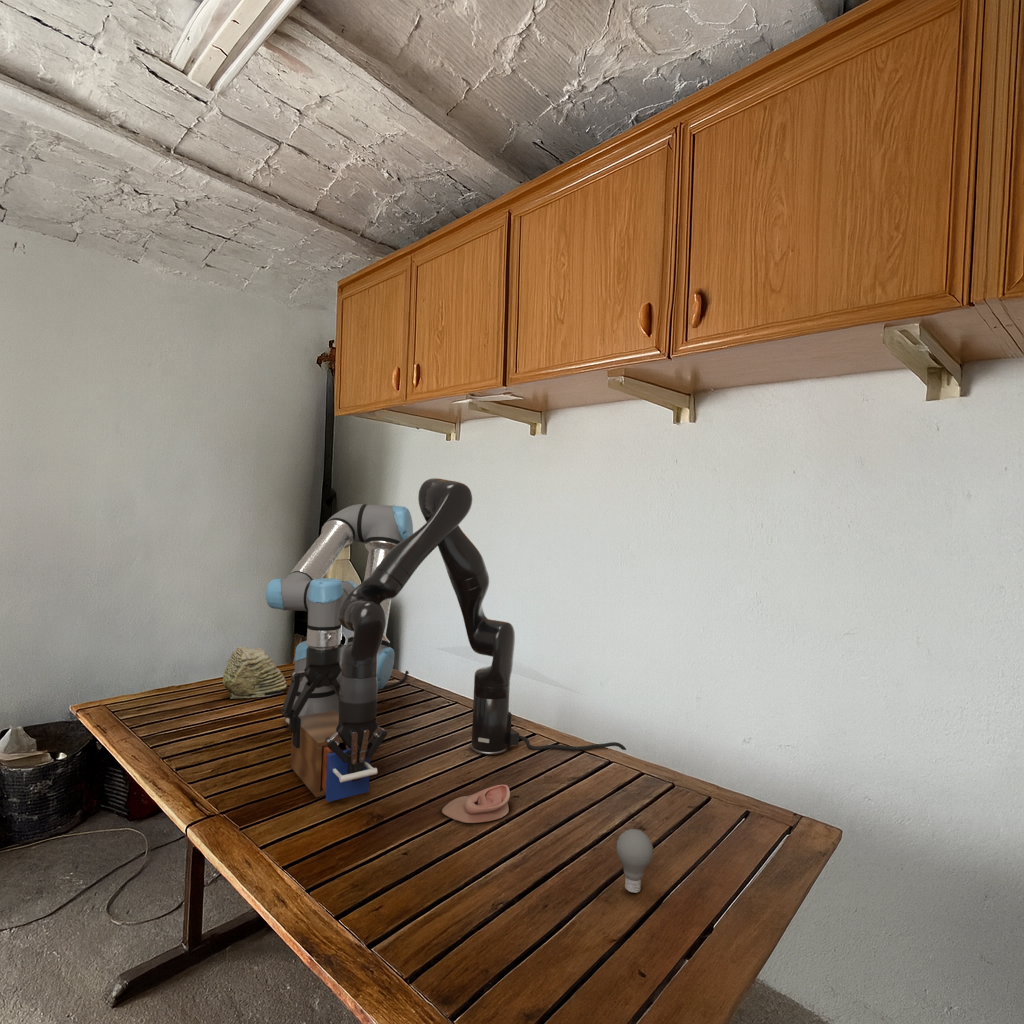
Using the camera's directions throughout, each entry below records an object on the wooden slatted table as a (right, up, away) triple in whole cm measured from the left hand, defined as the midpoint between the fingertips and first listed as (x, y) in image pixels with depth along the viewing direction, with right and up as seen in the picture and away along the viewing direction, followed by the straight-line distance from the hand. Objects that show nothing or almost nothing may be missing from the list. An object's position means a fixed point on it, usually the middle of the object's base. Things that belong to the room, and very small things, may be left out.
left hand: (319, 741), depth 147 cm
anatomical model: (+37, -9, -16) cm, 41 cm away
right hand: (+12, -2, -17) cm, 21 cm away
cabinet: (+2, -7, -3) cm, 8 cm away
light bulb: (+65, -10, -41) cm, 77 cm away
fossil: (-36, -4, +51) cm, 63 cm away
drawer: (+7, -6, -10) cm, 14 cm away
